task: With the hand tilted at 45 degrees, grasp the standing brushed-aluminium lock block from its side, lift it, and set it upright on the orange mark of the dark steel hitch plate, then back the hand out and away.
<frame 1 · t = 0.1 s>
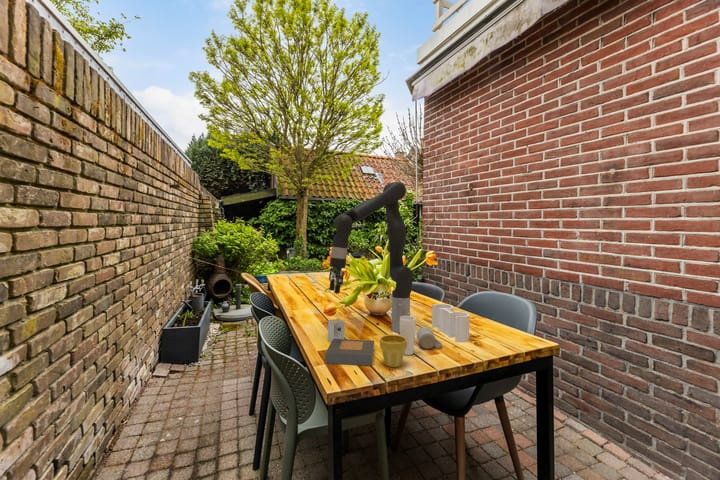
hand: (334, 291, 149), 22 cm above the table, tool pointing down, fingers open, 8 cm apart
aluminium lock block: (336, 341, 147), on the table
plant pot: (393, 364, 123), on the table
white tube: (407, 353, 134), on the table
ceramic mug: (429, 346, 142), on the table
bracket: (450, 333, 159), on the table
steel hitch plate: (351, 356, 130), on the table
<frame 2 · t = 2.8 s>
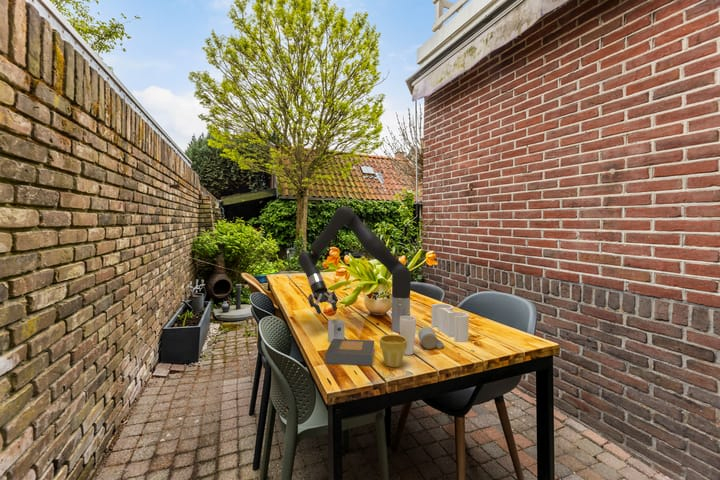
hand: (328, 311, 153), 12 cm above the table, tool tilted 45°, fingers open, 8 cm apart
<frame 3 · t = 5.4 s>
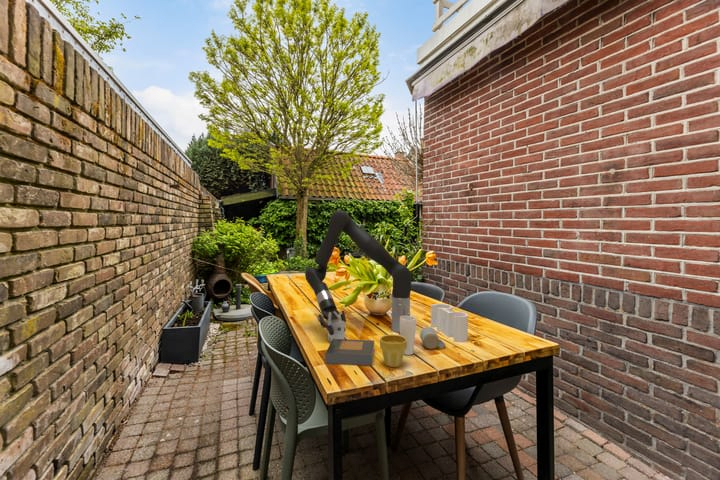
hand: (338, 333, 145), 4 cm above the table, tool tilted 45°, fingers closed on aluminium lock block, 5 cm apart
aluminium lock block: (336, 341, 147), on the table, touching gripper
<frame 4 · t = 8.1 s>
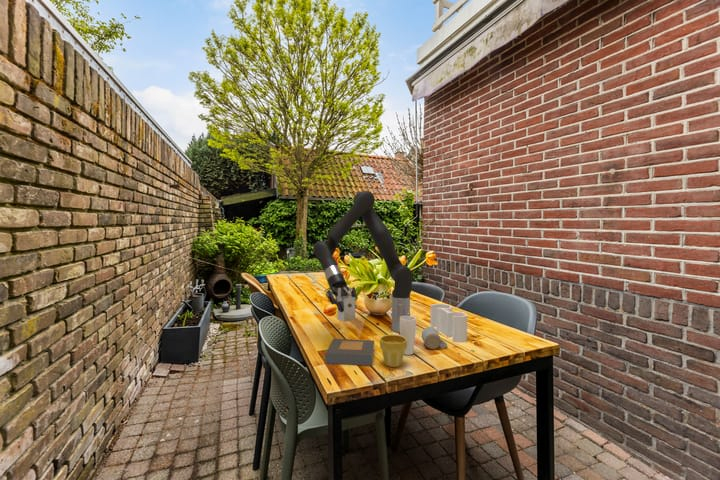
hand: (348, 310, 133), 18 cm above the table, tool tilted 45°, fingers closed on aluminium lock block, 5 cm apart
aluminium lock block: (346, 319, 135), point 14 cm above the table, touching gripper
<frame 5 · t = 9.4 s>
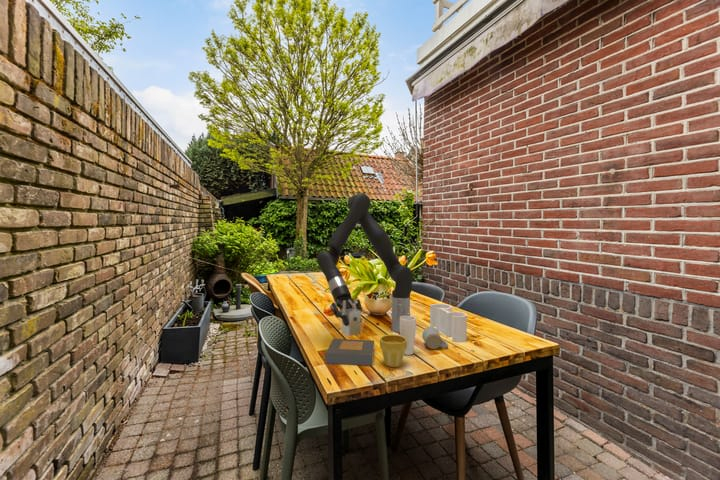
hand: (353, 323, 129), 14 cm above the table, tool tilted 45°, fingers closed on aluminium lock block, 5 cm apart
aluminium lock block: (351, 332, 131), point 9 cm above the table, touching gripper
when the fingers open (10 cm above the table, at t = 10.6 s): aluminium lock block drops 1 cm, resting on steel hitch plate.
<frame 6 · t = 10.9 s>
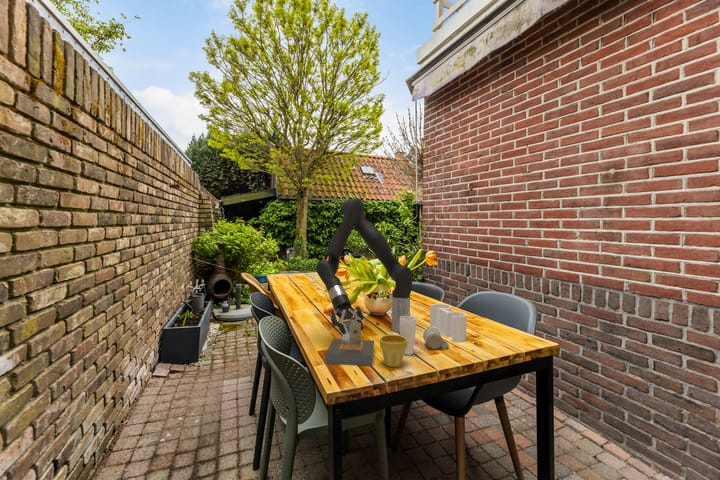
hand: (353, 331, 130), 10 cm above the table, tool tilted 45°, fingers open, 8 cm apart
aluminium lock block: (351, 345, 131), point 4 cm above the table, touching steel hitch plate
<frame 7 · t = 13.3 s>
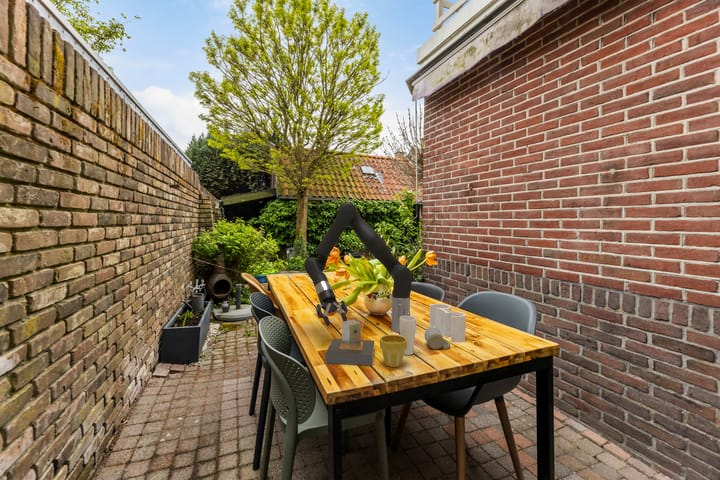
hand: (337, 323, 140), 10 cm above the table, tool tilted 45°, fingers open, 8 cm apart
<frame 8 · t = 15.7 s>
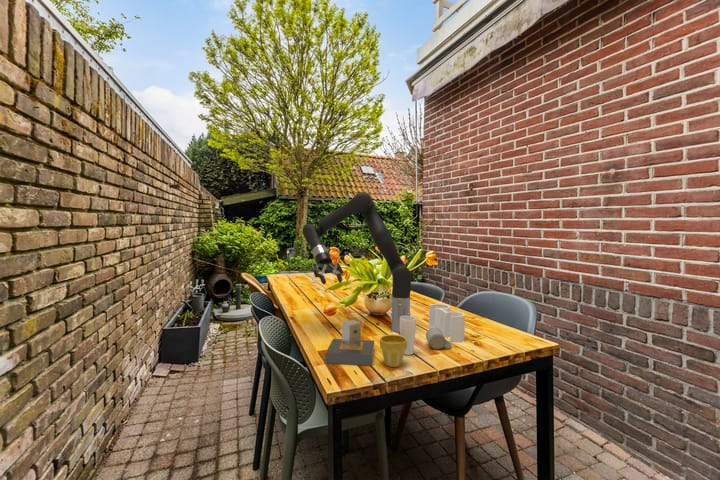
hand: (333, 282, 149), 27 cm above the table, tool tilted 45°, fingers open, 8 cm apart
at the end: aluminium lock block inside the target area on the steel hitch plate (0.1 cm from its centre), point 4.1 cm above the steel hitch plate's base; aluminium lock block tilted 0°; the gripper is holding nothing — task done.
